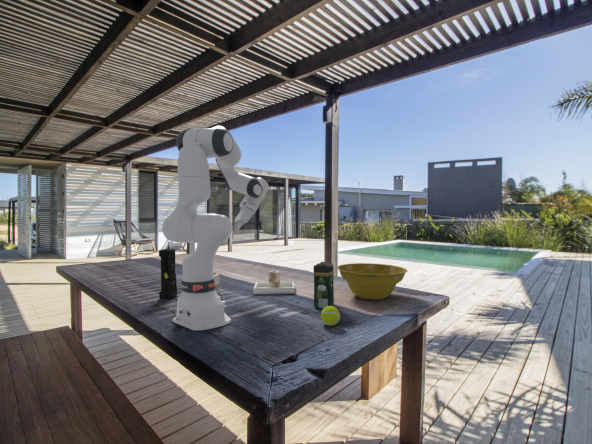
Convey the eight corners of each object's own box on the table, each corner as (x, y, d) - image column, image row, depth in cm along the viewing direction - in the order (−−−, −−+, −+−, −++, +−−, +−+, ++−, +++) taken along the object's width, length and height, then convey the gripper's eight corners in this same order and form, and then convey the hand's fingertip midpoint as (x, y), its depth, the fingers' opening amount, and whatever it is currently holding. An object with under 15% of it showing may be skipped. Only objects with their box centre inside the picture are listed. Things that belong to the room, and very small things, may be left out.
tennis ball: (324, 329, 105) (324, 309, 105) (318, 323, 111) (317, 304, 111) (343, 327, 107) (343, 308, 106) (335, 321, 113) (335, 302, 113)
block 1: (219, 292, 158) (219, 273, 158) (215, 294, 153) (215, 275, 153) (211, 291, 159) (210, 273, 159) (206, 293, 154) (206, 275, 154)
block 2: (280, 288, 161) (279, 270, 161) (277, 290, 157) (277, 272, 157) (271, 287, 162) (271, 270, 162) (268, 290, 158) (268, 271, 158)
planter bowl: (398, 288, 163) (398, 263, 162) (416, 306, 131) (416, 274, 130) (335, 287, 166) (335, 262, 166) (338, 305, 134) (337, 273, 134)
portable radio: (171, 299, 143) (170, 245, 143) (158, 299, 144) (157, 245, 143) (178, 295, 151) (177, 243, 151) (165, 295, 151) (164, 243, 151)
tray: (293, 287, 167) (293, 281, 167) (294, 293, 153) (294, 287, 153) (256, 287, 166) (256, 282, 166) (253, 294, 152) (253, 288, 152)
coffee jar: (317, 302, 138) (317, 260, 137) (335, 304, 135) (335, 261, 135) (311, 308, 128) (311, 263, 128) (330, 310, 126) (330, 264, 125)
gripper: (239, 205, 171) (226, 227, 168) (246, 201, 152) (232, 226, 149) (249, 211, 173) (237, 233, 170) (258, 208, 153) (244, 233, 150)
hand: (235, 230), depth 159 cm, fingers open, 8 cm apart
